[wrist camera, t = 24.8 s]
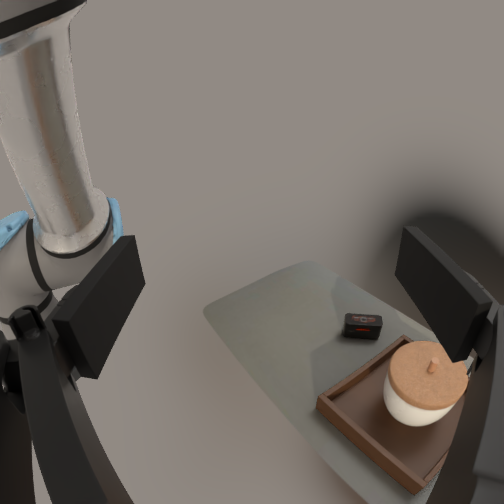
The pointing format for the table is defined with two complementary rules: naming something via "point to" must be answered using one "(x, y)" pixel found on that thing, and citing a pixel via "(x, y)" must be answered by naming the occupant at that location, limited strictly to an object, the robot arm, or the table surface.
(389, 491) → the table surface
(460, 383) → the trinket box
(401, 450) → the tray
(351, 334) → the wireless earbuds
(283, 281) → the table surface
